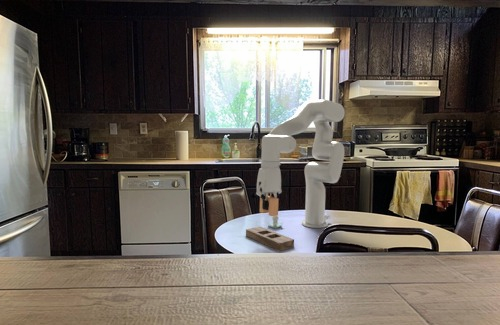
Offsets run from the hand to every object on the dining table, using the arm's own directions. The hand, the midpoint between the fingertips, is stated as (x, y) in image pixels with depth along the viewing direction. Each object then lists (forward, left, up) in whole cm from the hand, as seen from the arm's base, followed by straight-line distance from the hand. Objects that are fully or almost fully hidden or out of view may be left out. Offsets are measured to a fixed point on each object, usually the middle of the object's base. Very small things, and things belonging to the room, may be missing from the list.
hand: (268, 208), depth 139 cm
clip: (0, 0, -2) cm, 2 cm away
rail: (-1, 0, -14) cm, 14 cm away
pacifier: (-17, -14, -14) cm, 26 cm away
